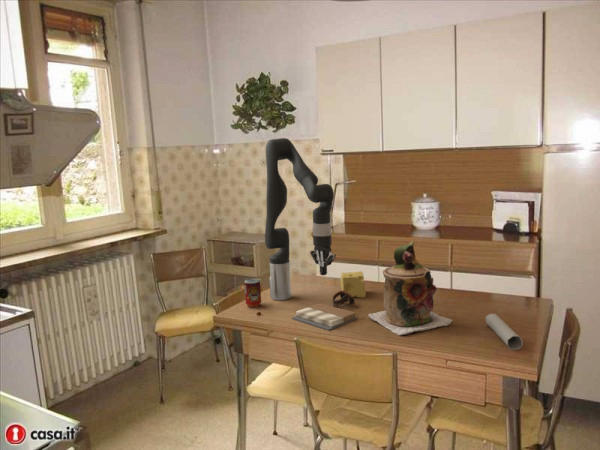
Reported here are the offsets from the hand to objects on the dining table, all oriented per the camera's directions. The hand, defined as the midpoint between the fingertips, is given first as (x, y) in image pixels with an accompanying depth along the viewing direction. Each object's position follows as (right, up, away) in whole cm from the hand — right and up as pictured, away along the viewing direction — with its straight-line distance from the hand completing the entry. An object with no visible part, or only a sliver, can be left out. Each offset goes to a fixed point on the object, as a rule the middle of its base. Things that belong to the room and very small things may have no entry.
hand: (323, 274), depth 205 cm
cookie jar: (+33, -18, -8) cm, 39 cm away
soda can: (-31, -16, +21) cm, 41 cm away
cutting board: (0, -18, 0) cm, 18 cm away
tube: (+63, -20, -26) cm, 71 cm away
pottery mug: (+10, -16, +14) cm, 23 cm away
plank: (-2, -18, -2) cm, 18 cm away
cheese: (+15, -13, +31) cm, 36 cm away
